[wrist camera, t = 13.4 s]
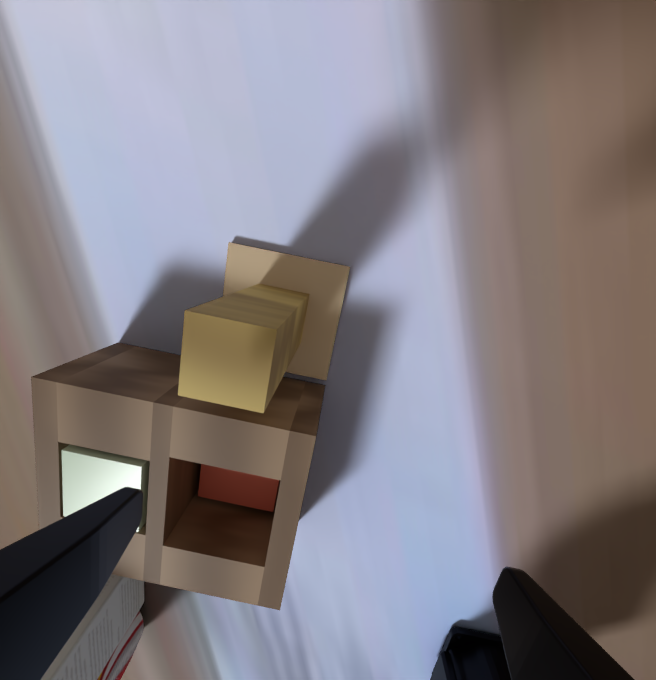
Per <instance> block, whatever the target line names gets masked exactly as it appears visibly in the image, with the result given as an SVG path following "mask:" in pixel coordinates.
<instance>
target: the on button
mask: <svg viewBox="0 0 656 680" xmlns="http://www.w3.org/2000/svg"><path fill="white" fill-rule="evenodd" d="M149 467H150V461H147V460H143V459H138V458H133V457H128V456H123V455H119V454H114V453H109V452H104V451H100V450H95V449H90V448H85V447H80V446H76V445H71V444H70V445H68V446H67V447H65V448H64V449H63V450H62V486H63V516H65V517H66V516H68V515H70V514H72V513H74V512H76V511H78V510H80V509H82V508H84V507H86V506H88V505H90V504H92V503H94V502H96V501H98V500H100V499H102V498H104V497H106V496H107V495H109V494H111V493H113V492H115V491H117V490H119V489H121V488H124V487H131V488H136V489H140V490H142V491H143V510H142V519H141V522H140V525H139V527H138V529H137V531H136V532H139V531H140V529H141V528H142V527H143V525H144V524H145V523H146V520H147V502H148V485H149Z"/></svg>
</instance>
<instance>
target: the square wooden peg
mask: <svg viewBox="0 0 656 680" xmlns="http://www.w3.org/2000/svg"><path fill="white" fill-rule="evenodd" d="M309 295H310V294H307V293H302V292H297V291H293V290H288V289H283V288H278V287H273V286H269V285H264V284H256V285H254V286H251V287H248V288H245V289H243V290H240V291H237V292H234V293H231V294H229V295H226V296H223V297H220V298H218V299H215V300H212V301H209V302H207V303H204V304H201V305H198V306H195V307H193V308H190V309H187V310H185V313H184V325H183V337H182V350H181V362H180V374H179V386H178V396H183V397H188V398H193V399H197V400H202V401H207V402H212V403H216V404H221V405H226V406H231V407H235V408H240V409H245V410H250V411H254V412H259V413H264V412H265V410H266V408H267V406H268V404H269V402H270V400H271V398H272V396H273V395H274V393H275V391H276V389H277V387H278V385H279V383H280V381H281V379H282V377H283V376H284V374H285V372H286V370H287V368H288V366H289V364H290V362H291V360H292V358H293V357H294V355H295V353H296V351H297V349H298V347H299V345H300V343H301V339H302V333H303V328H304V322H305V317H306V311H307V306H308V301H309Z"/></svg>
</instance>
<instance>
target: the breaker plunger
mask: <svg viewBox="0 0 656 680" xmlns="http://www.w3.org/2000/svg"><path fill="white" fill-rule="evenodd" d="M280 481H281V480H276V479H271V478H267V477H262V476H257V475H252V474H247V473H243V472H238V471H233V470H228V469H224V468H219V467H214V466H209V465H204V464H201V471H200V480H199V489H198V496H199V497H204V498H208V499H213V500H218V501H223V502H227V503H232V504H237V505H242V506H246V507H251V508H256V509H261V510H266V511H270V512H273V511H274V507H275V504H276V500H277V497H278V492H279V486H280Z"/></svg>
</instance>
